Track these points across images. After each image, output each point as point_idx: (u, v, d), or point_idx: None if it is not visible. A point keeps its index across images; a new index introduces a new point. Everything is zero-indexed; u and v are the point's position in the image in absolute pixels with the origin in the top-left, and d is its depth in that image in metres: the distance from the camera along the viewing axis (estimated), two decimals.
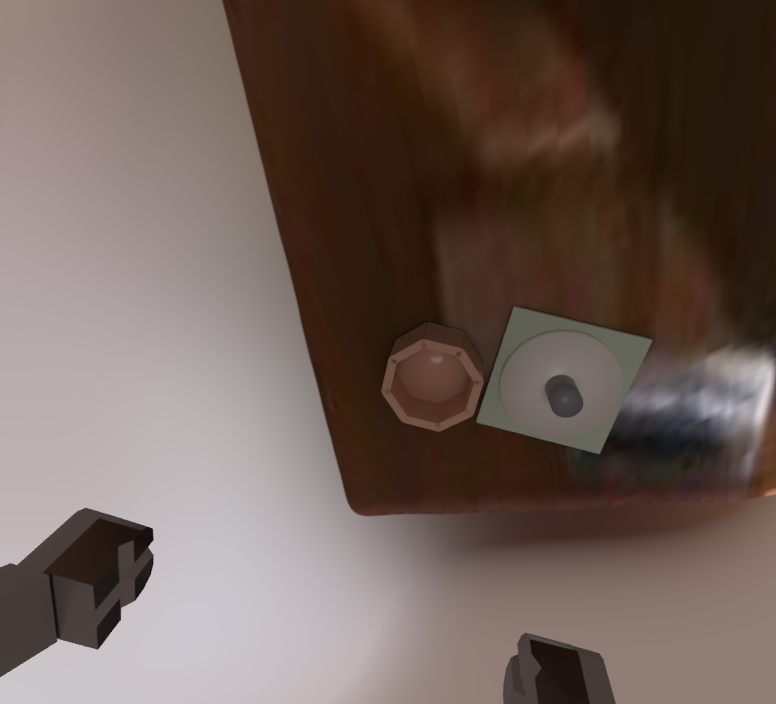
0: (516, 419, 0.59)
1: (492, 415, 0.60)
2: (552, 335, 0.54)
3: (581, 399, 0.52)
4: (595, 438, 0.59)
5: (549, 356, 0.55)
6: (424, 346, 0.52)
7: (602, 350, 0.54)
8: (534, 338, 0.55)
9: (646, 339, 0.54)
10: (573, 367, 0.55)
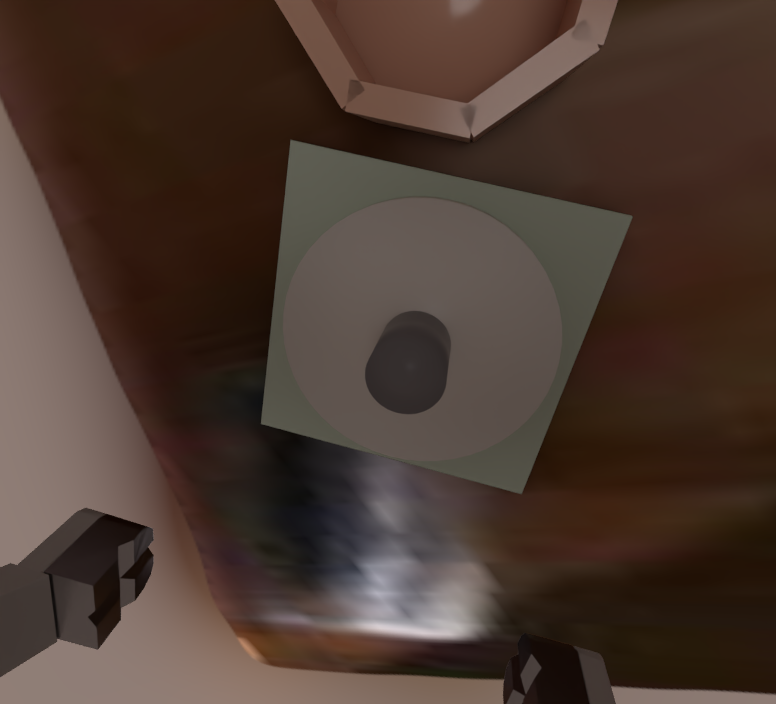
0: (319, 249, 0.23)
1: (318, 184, 0.23)
2: (556, 315, 0.22)
3: (420, 409, 0.21)
4: (295, 414, 0.28)
5: (499, 314, 0.22)
6: None
7: (512, 420, 0.24)
8: (547, 275, 0.22)
9: (523, 484, 0.27)
10: (470, 366, 0.24)
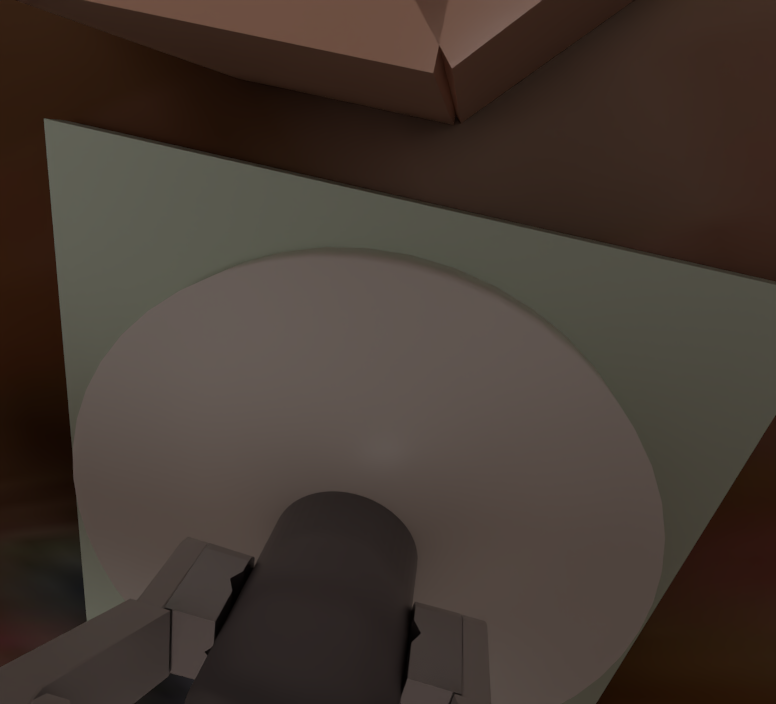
0: (122, 364, 0.10)
1: (118, 217, 0.10)
2: (654, 518, 0.10)
3: None
4: None
5: (522, 508, 0.10)
6: None
7: (546, 691, 0.12)
8: (635, 433, 0.09)
9: None
10: (460, 597, 0.11)
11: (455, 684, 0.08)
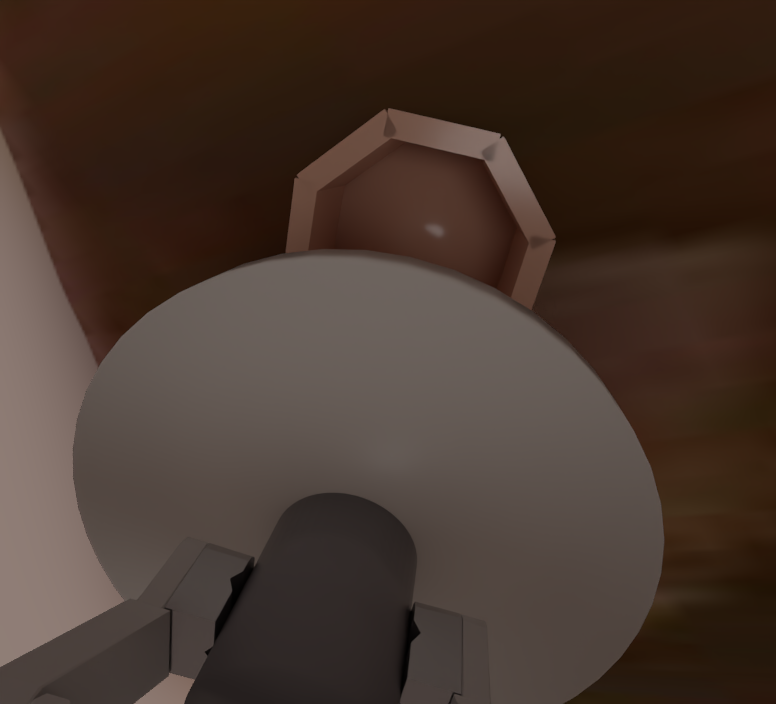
0: (122, 365, 0.10)
1: None
2: (653, 520, 0.10)
3: None
4: None
5: (522, 510, 0.10)
6: (533, 242, 0.19)
7: (545, 692, 0.12)
8: (634, 434, 0.09)
9: None
10: (459, 598, 0.11)
11: (455, 684, 0.08)
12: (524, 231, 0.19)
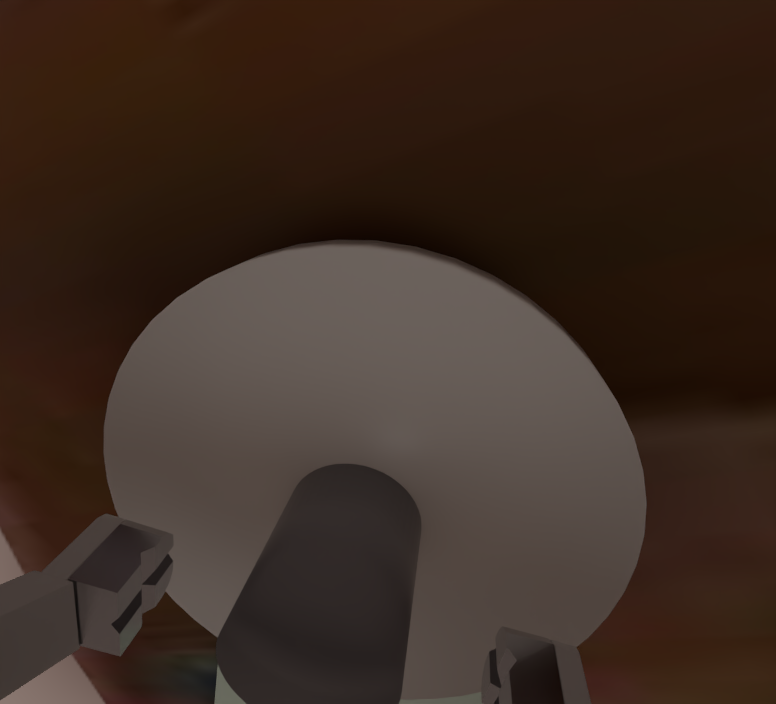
0: (152, 346, 0.11)
1: None
2: (636, 485, 0.11)
3: None
4: None
5: (517, 477, 0.11)
6: None
7: None
8: (619, 406, 0.10)
9: None
10: (460, 562, 0.12)
11: None
12: None
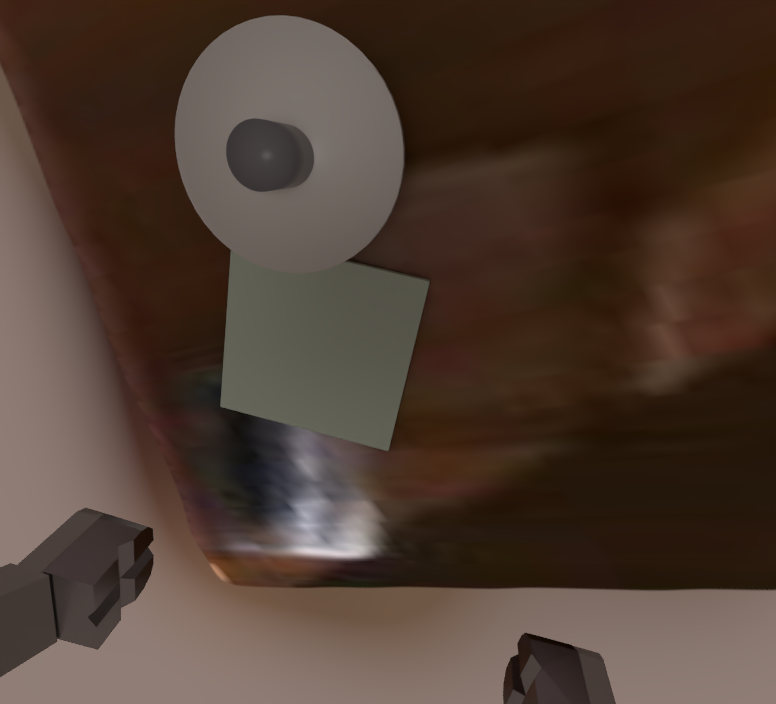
0: (199, 69, 0.27)
1: None
2: (395, 120, 0.26)
3: (273, 186, 0.25)
4: (242, 400, 0.43)
5: (349, 122, 0.27)
6: None
7: (371, 225, 0.29)
8: (384, 83, 0.26)
9: (388, 444, 0.42)
10: (331, 175, 0.28)
11: None
12: None
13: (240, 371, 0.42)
